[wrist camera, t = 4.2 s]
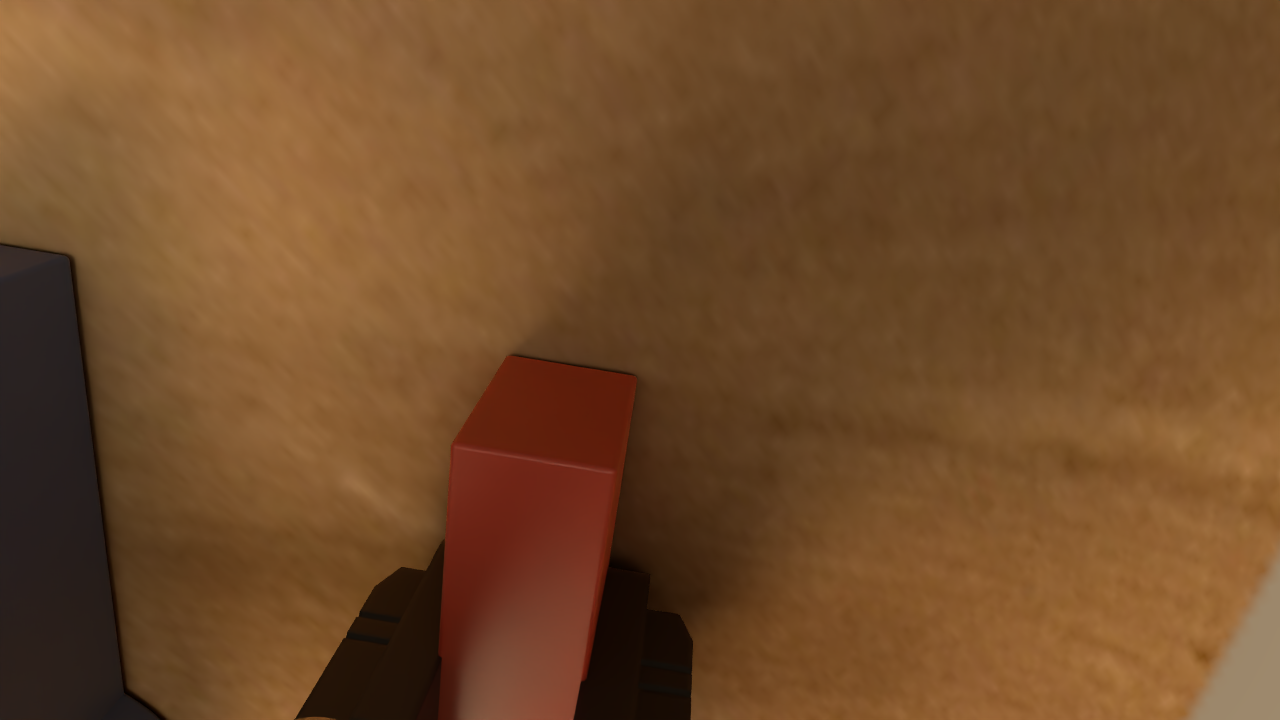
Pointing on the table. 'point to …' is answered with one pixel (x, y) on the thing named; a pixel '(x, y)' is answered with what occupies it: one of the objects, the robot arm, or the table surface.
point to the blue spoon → (51, 511)
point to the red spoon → (530, 539)
